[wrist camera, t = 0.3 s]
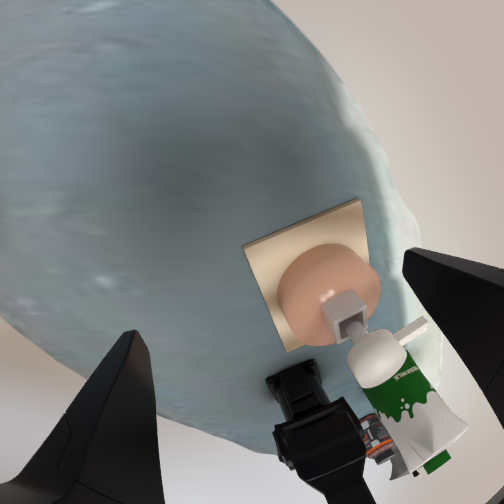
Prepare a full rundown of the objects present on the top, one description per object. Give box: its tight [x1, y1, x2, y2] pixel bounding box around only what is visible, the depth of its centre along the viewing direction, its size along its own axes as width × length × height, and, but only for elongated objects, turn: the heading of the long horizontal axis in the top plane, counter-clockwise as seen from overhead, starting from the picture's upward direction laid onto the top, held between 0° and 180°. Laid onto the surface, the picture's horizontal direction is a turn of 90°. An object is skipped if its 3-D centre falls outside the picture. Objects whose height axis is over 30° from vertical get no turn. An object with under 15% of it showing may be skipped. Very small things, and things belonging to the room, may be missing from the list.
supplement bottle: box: [359, 414, 395, 465], centre depth 44 cm, size 6×6×11 cm
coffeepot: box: [385, 427, 419, 480], centre depth 51 cm, size 15×9×18 cm, turn 124°
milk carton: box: [362, 350, 469, 474], centre depth 31 cm, size 9×9×20 cm
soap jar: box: [277, 244, 381, 346], centre depth 24 cm, size 9×9×6 cm
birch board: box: [242, 198, 369, 353], centre depth 27 cm, size 14×11×1 cm
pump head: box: [346, 316, 428, 388], centre depth 19 cm, size 4×7×5 cm, turn 109°
